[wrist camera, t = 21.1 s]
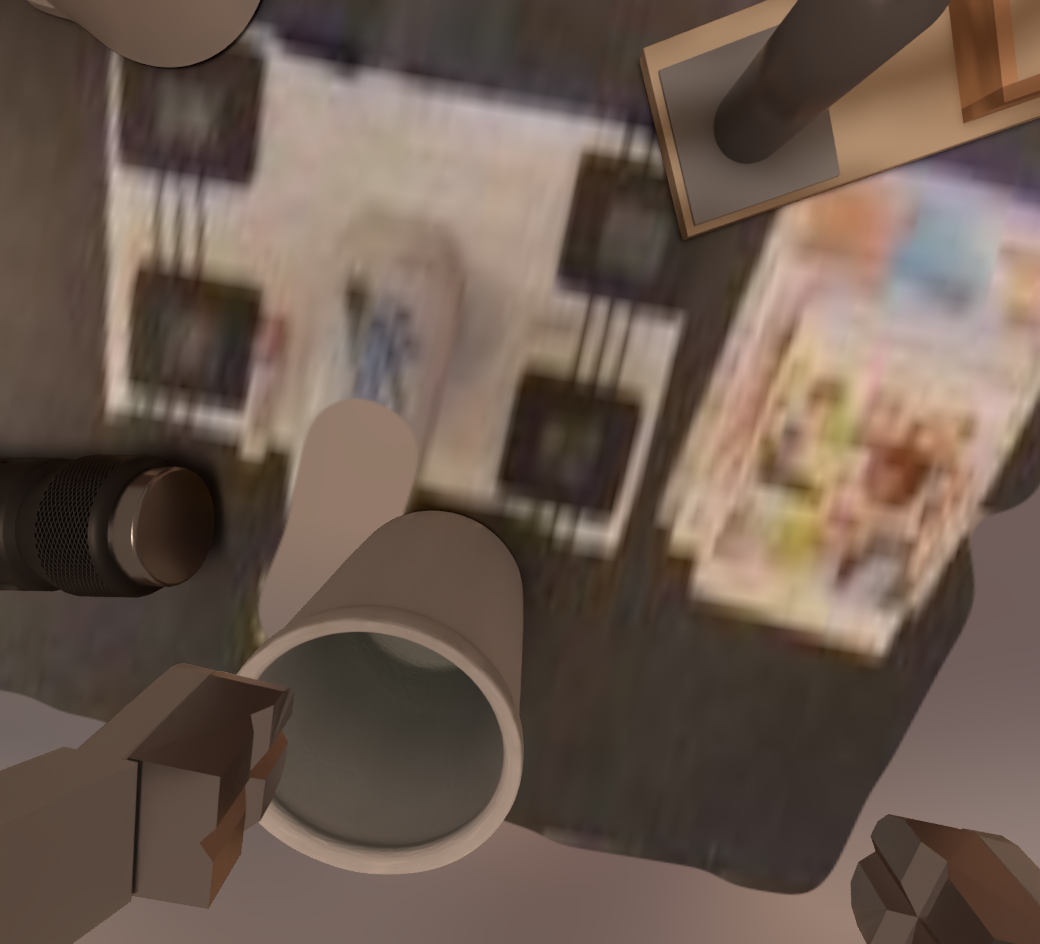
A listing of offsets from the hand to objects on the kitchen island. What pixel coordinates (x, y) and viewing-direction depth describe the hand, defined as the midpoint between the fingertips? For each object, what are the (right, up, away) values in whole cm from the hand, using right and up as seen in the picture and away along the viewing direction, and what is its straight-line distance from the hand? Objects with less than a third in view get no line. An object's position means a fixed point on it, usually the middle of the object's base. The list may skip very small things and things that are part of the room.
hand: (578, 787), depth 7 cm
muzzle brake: (-38, +2, +36) cm, 52 cm away
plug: (+13, +25, +25) cm, 38 cm away
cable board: (+21, +29, +26) cm, 44 cm away
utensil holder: (-7, -5, +36) cm, 37 cm away
